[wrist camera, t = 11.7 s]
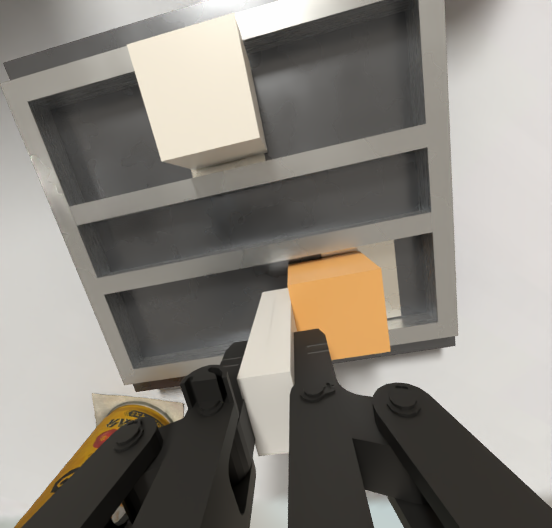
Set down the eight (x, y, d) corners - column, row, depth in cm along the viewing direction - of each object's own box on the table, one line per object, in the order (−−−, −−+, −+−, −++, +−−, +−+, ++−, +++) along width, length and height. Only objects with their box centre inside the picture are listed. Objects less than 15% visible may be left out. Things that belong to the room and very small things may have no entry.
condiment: (183, 401, 20) (43, 671, 9) (184, 480, 23) (73, 780, 11) (93, 391, 21) (-159, 641, 9) (103, 470, 23) (-89, 754, 11)
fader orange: (300, 327, 16) (303, 364, 12) (288, 264, 15) (287, 285, 11) (368, 316, 15) (390, 351, 12) (359, 251, 14) (381, 268, 11)
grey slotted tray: (151, 372, 20) (125, 405, 17) (40, 80, 15) (-25, 50, 12) (437, 329, 18) (468, 357, 14) (414, -31, 13) (454, -102, 10)
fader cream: (193, 169, 14) (161, 161, 10) (170, 84, 13) (126, 44, 9) (267, 152, 13) (259, 137, 10) (249, 63, 12) (234, 12, 9)
